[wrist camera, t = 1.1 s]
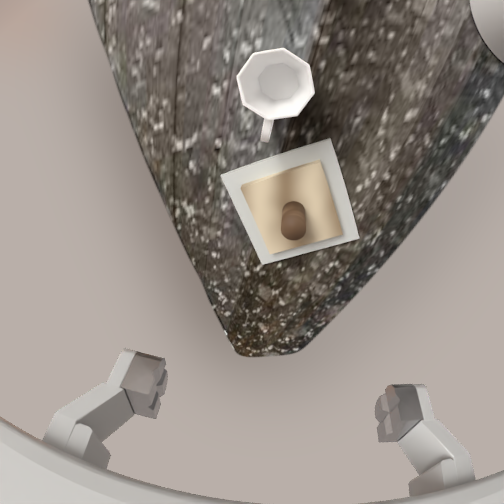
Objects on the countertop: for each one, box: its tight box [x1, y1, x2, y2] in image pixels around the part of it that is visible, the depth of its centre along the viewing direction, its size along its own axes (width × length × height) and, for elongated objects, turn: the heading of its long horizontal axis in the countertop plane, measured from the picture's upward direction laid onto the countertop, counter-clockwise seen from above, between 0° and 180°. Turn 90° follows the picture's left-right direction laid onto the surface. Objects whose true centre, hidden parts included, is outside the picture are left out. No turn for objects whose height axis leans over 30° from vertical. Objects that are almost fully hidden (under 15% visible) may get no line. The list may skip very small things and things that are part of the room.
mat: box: [221, 138, 359, 265], centre depth 39 cm, size 14×14×1 cm
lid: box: [240, 159, 343, 254], centre depth 36 cm, size 10×10×6 cm
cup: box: [237, 48, 315, 142], centre depth 28 cm, size 7×10×8 cm
